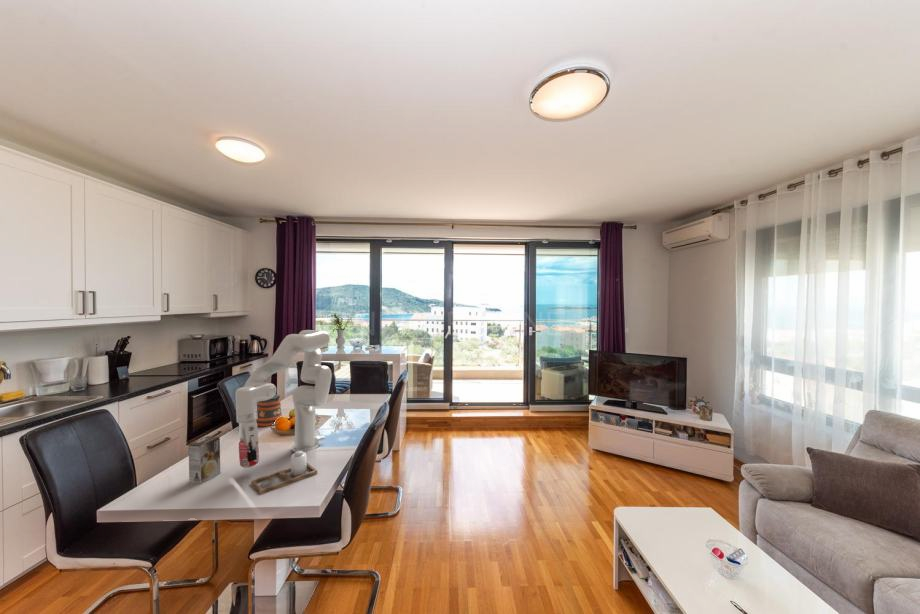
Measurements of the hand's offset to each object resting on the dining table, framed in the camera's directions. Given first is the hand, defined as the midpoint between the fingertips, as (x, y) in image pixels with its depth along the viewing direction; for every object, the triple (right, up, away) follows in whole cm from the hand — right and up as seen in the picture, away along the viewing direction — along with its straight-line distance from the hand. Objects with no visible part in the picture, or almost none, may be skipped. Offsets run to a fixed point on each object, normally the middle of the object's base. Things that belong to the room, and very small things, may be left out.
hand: (249, 457), depth 148 cm
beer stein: (-30, -8, +67) cm, 74 cm away
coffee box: (-18, -9, -1) cm, 20 cm away
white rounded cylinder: (+21, -7, 0) cm, 22 cm away
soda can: (0, -4, 0) cm, 4 cm away
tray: (+17, -9, -4) cm, 20 cm away
